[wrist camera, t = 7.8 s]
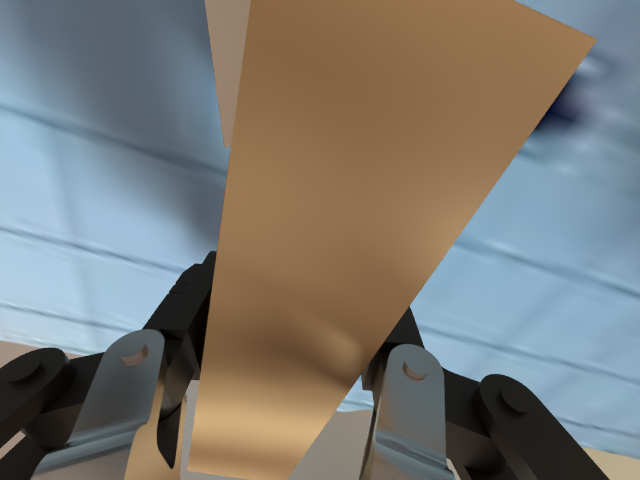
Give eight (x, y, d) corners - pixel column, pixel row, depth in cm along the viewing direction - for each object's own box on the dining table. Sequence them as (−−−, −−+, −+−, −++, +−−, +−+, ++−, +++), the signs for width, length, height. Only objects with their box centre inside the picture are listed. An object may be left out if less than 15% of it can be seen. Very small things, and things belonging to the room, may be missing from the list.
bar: (303, -5, 6) (266, -115, 3) (451, 56, 7) (597, 39, 3) (224, 366, 15) (187, 470, 11) (294, 381, 15) (283, 484, 11)
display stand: (238, -40, 13) (95, -214, 5) (400, -30, 13) (510, -186, 5) (264, 291, 25) (233, 396, 17) (350, 296, 25) (359, 403, 17)
